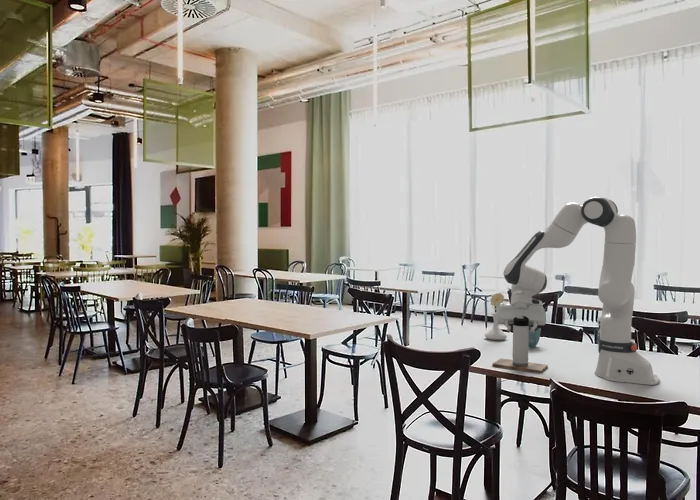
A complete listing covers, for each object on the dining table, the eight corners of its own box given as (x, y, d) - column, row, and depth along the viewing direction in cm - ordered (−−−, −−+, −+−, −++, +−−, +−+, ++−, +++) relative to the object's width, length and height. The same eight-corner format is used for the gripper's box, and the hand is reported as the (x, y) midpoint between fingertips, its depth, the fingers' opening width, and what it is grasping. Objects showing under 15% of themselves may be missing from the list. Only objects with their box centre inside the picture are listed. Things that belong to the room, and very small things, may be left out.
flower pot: (541, 346, 264) (541, 328, 264) (536, 349, 257) (537, 331, 256) (523, 343, 269) (523, 326, 268) (518, 347, 261) (518, 329, 261)
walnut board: (547, 367, 223) (547, 364, 223) (541, 373, 214) (541, 370, 214) (500, 361, 234) (500, 358, 234) (492, 366, 225) (492, 363, 225)
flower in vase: (480, 337, 284) (481, 291, 283) (499, 336, 287) (500, 290, 286) (492, 342, 271) (493, 294, 270) (512, 341, 274) (513, 293, 273)
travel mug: (531, 364, 224) (531, 317, 223) (523, 367, 219) (524, 319, 218) (517, 361, 228) (517, 315, 227) (509, 364, 223) (510, 317, 223)
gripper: (496, 299, 232) (494, 325, 224) (546, 301, 226) (546, 328, 217) (496, 308, 237) (495, 333, 228) (545, 310, 230) (545, 337, 222)
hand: (520, 331), depth 223 cm, fingers open, 8 cm apart
